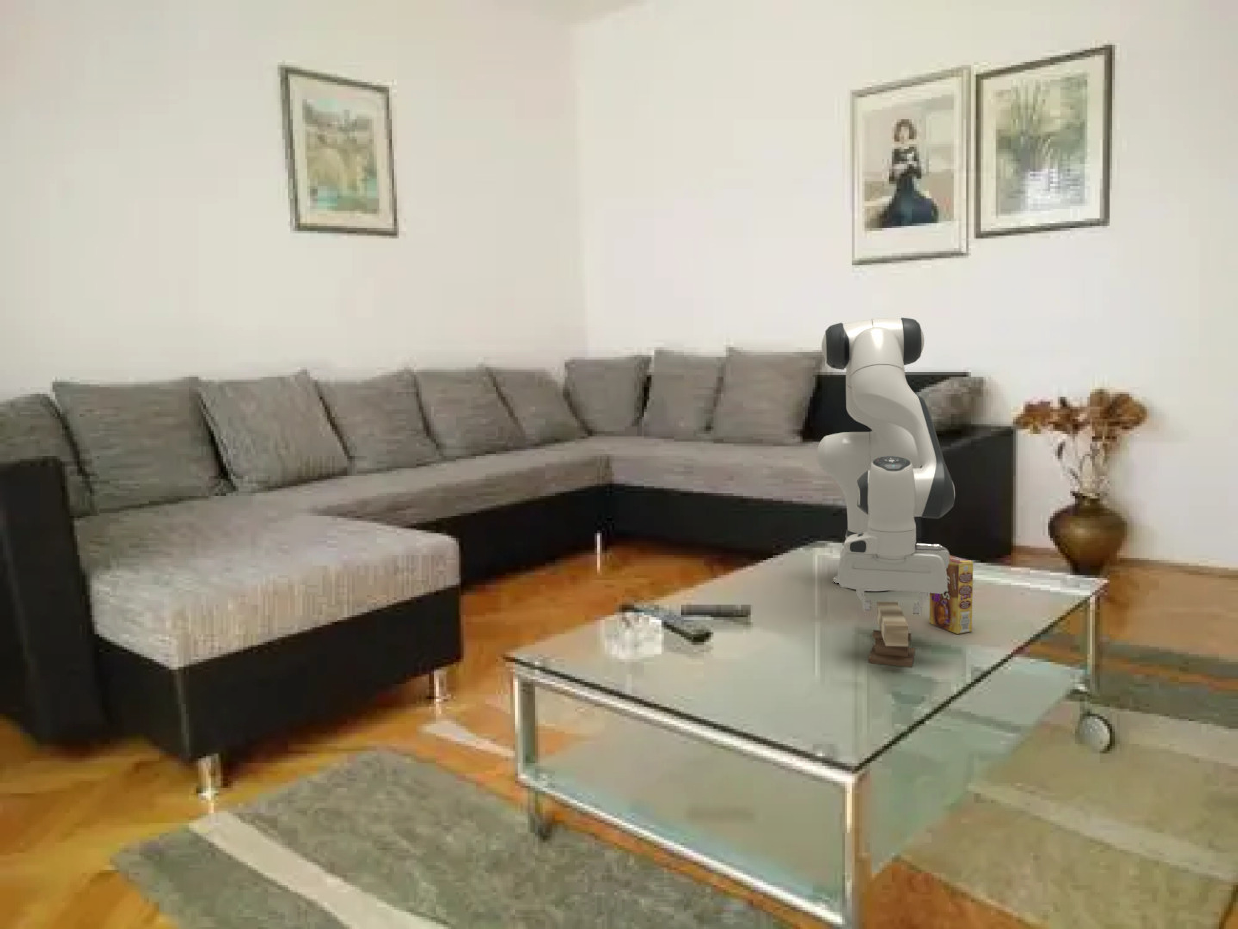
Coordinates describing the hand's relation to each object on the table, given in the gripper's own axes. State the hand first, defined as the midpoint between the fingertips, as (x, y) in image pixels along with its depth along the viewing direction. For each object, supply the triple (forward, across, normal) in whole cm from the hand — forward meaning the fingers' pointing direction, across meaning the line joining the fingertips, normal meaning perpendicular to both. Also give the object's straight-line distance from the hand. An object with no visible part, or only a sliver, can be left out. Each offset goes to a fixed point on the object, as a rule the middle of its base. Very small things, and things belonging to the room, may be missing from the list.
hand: (891, 611), depth 168 cm
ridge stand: (+9, 0, 0) cm, 9 cm away
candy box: (+10, -10, -22) cm, 26 cm away
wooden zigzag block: (+4, 0, 0) cm, 4 cm away
